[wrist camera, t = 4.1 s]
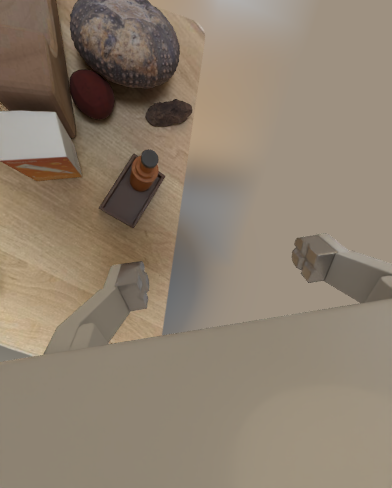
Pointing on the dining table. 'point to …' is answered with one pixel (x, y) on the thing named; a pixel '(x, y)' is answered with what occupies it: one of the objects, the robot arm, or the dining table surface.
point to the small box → (37, 145)
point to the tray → (129, 197)
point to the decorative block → (34, 60)
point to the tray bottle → (144, 170)
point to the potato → (92, 94)
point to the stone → (168, 113)
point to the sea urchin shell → (125, 41)
